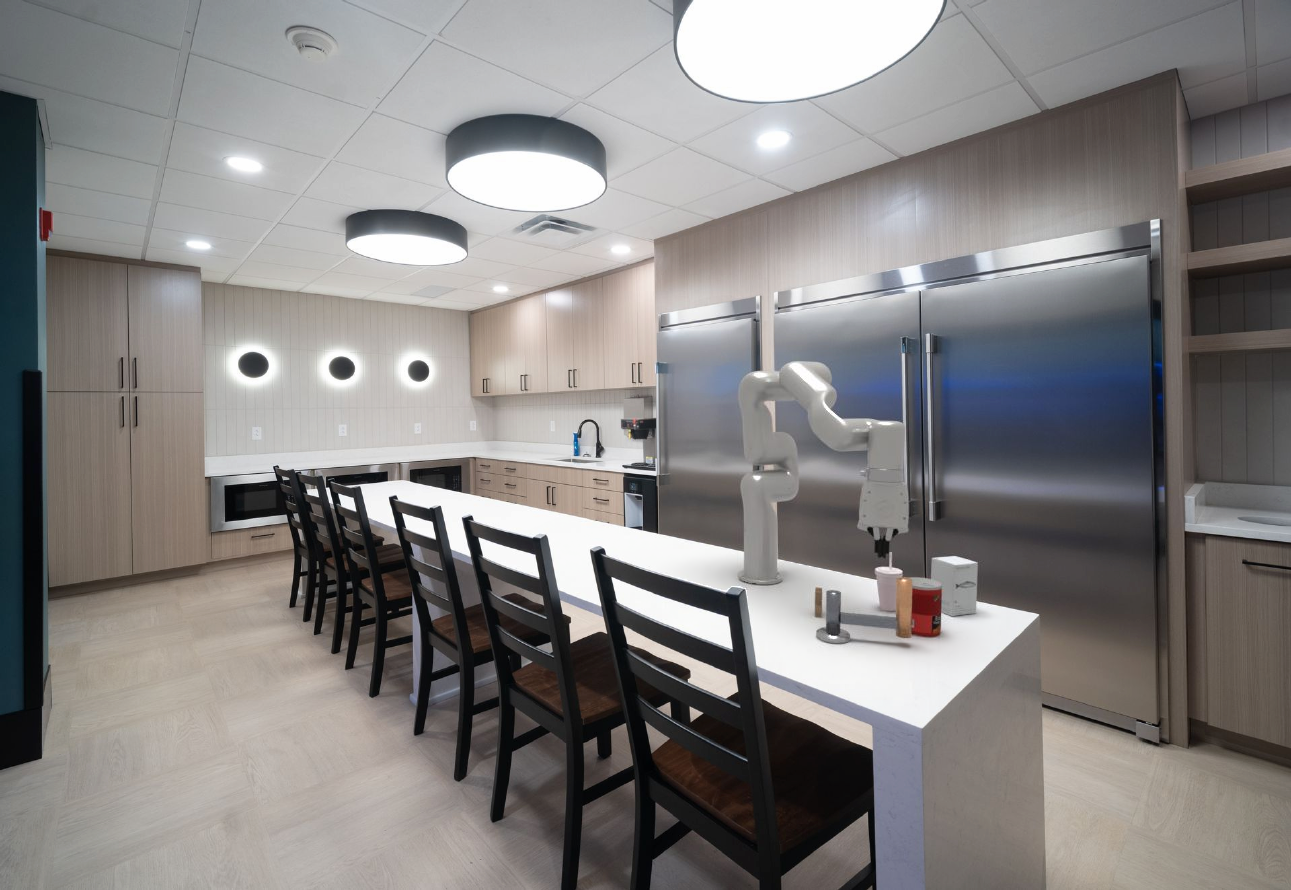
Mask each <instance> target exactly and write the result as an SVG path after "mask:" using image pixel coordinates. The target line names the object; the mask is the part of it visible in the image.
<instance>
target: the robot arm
mask: <svg viewBox="0 0 1291 890" xmlns="http://www.w3.org/2000/svg"><path fill="white" fill-rule="evenodd" d="M832 381H833V376H832V373H831V370H830V368H829V367H828V366H827V365H825V364H824V363H822V362H819V361H799V360H796V361H795V360H794V361H790V362H787V363H786V364H784V365H783V366H782V367H781V368H780V370H778V371H777V370H756V371H752V372H749V373H747V374H746V375H744V376H743V378H742V379H741V381H740V382H739V386H738V390H737V391H738V392H737V399H738V404H739V409H740V413H741V418H742V440H743V453H744V458H745V461H746V462H747V463H748V464H750V465H752V466H772V467H773V469H759V470H752V471H749V472H748V473H746V474H745V475H744V476H743V477H742V478H741V481H740V486H739V487H740V494H741V499H742V506H743V570H741V571H739V573H738V574H737V575H738V579H739V580H740V581H741V582H744V581H745V583H747V582H748V584H752V583H756V584H755V585H763V586H764V585H767V586H768V585H775V584H779V583H781V582H782V581H783V577H784V576H783V575H782V573H780V572H778V515H777V514H776V511H775V510H774V507H773V505H772V503H778V502H781V503H782V502H787V501H791V500H793V499H794V498H795V497H796V496H797V494H798V493H799V488H800V477H799V476H800V475H799V460H798V448H797V443H796V441H795V439H794V438H793V437H792V435H791V434H789V433H787V432H784V431H774V426H773V416H772V413H771V411H770V410H769V407H768V406H767V405H766V404H765V402H792V401H796V402H797V403H798V404H799V405H800V406H801V407H803V409H805V411H806V412H807V420H808V425H809V426H810V429H811V431H812V432H813V433H814V435H815V436H816V437H817V438H818V439H819V440H821V442H822V443H823V444H824V445H826V446H827V447H829V448H830V449H831V450H833V451H836V452H853V451H854V452H858V451H860V452H861V451H862V452H863V451H867V463H866V464H867V466H866V468H865V469H860V470H859V471H860V472H859V476H860V477H864V478H866V480H865V479H864V480H863V483H862V486H861V492H860V499H859V507H858V519H859V520H858V522H857V525H856V526H857V529H858V530H861V531H863V532H868V534H869V535H871V537H872V538H873V539H874V546H873V547H874V550H873V553H875V554H876V556H877V558H878V559H879V558H880V559H881V558H883V559H886V556H887V555H890V541H891V540H892V539H893V538H894V537H895V536H896V535H899V534H904V533H905V534H906V533H909V514H910V513H909V508H910V507H909V506H910V505H909V491H908V485H907V483H906V482H904V463H905V445H906V444H905V443H906V442H905V441H906V439H905V438H906V426H905V424H904V423H903V422H901V421H896V420H878V419H873V418H841V417H840V416H838V415H837V414H836V413H835V412H834V411H833V410H832V408H833V407H834V406H835V403H836V401H837V397H838V394H837V391H836V389H835V388H834V387H833V385H832ZM880 529H885V530H884V535H882V536H881V534H880Z"/></svg>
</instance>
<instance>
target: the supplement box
mask: <svg viewBox="0 0 1291 890" xmlns="http://www.w3.org/2000/svg"><path fill="white" fill-rule="evenodd" d="M930 565H931V566H930V567H931V570H930V571H931V572H930V573H931V574H930V579H932V580H935V581H938V582H940V583H941V584H942V607H941V613H943V614H945V615H948V616H951V617H956V616H961V615H963V616H965V615H972V614H973V615H974V614H976V613H977V598H978V595H977V593H978V591H977V590H978V571H979V566H978V565H979V563H978V561H977V562H976V561H973V560H972V559H971V560H970V559H966V558H964V557H960V556H956V555H952V556H950V555H949V556H937V557H932V558H931V564H930Z"/></svg>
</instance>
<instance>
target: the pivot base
mask: <svg viewBox="0 0 1291 890" xmlns="http://www.w3.org/2000/svg"><path fill="white" fill-rule="evenodd" d="M815 637H816V638H817V640H819V641H821V642H823V643H827V644H830V645H831V644H832V645H833V644H834V645H842V644H843V645H844V644H846V643H847V644H848V643H849V642H850V641H851V634H850V632H849V631H848V630H846V629H844V628H840V634H829V633H827V632H826V626H824V627H820V628H818V629H816V633H815Z"/></svg>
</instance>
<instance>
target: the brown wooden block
mask: <svg viewBox="0 0 1291 890" xmlns="http://www.w3.org/2000/svg"><path fill="white" fill-rule="evenodd" d="M814 588H815V589H814V618H820V619H821V618H822V617H823V587H816V586H815V587H814Z"/></svg>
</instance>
